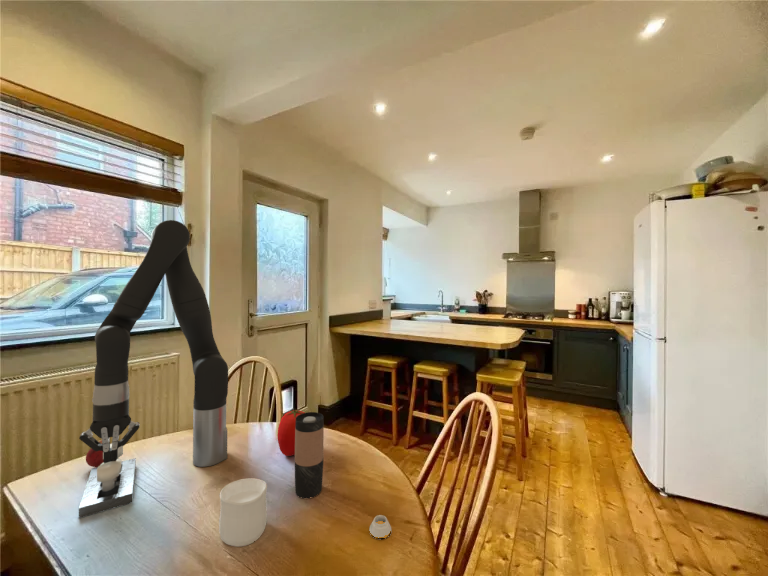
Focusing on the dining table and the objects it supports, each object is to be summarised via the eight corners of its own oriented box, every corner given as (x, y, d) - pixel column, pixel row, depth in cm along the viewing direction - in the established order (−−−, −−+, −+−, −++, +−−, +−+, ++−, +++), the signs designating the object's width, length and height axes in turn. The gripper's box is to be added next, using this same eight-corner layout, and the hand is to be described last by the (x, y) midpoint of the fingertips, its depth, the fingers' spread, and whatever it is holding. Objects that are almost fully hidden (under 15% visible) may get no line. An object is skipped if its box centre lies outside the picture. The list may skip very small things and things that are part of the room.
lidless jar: (364, 532, 75) (380, 544, 71) (365, 519, 75) (380, 531, 71) (379, 521, 78) (395, 532, 75) (380, 509, 78) (395, 519, 75)
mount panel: (135, 465, 99) (135, 458, 99) (132, 502, 83) (132, 493, 83) (91, 476, 93) (91, 468, 93) (78, 518, 77) (78, 508, 77)
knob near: (120, 481, 86) (120, 459, 86) (118, 489, 83) (118, 467, 83) (98, 486, 84) (98, 464, 84) (95, 496, 80) (95, 472, 80)
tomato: (299, 440, 117) (299, 401, 117) (321, 450, 110) (322, 408, 110) (268, 455, 107) (269, 412, 107) (291, 467, 100) (291, 421, 100)
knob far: (123, 460, 96) (123, 441, 96) (122, 467, 93) (122, 447, 92) (103, 465, 94) (104, 445, 94) (101, 472, 90) (102, 451, 90)
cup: (265, 543, 71) (266, 499, 71) (214, 554, 68) (214, 507, 68) (267, 513, 80) (268, 474, 80) (222, 521, 77) (223, 480, 77)
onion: (96, 474, 95) (96, 446, 95) (80, 471, 96) (80, 444, 96) (116, 463, 100) (116, 437, 100) (101, 461, 102) (101, 435, 101)
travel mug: (328, 486, 91) (329, 414, 91) (311, 502, 84) (312, 425, 84) (306, 479, 94) (307, 409, 94) (288, 494, 87) (289, 419, 87)
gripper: (142, 391, 95) (141, 450, 95) (80, 399, 87) (79, 463, 87) (141, 398, 89) (140, 462, 89) (75, 408, 81) (74, 477, 81)
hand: (110, 463), depth 88 cm, fingers closed
